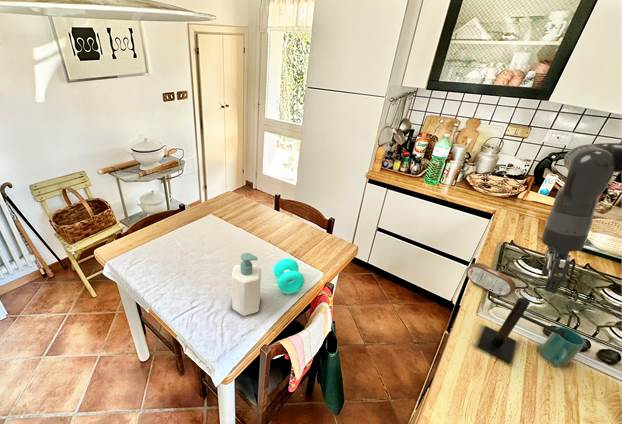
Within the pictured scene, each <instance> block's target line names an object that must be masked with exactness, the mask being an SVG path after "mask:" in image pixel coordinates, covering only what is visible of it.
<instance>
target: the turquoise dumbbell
mask: <svg viewBox="0 0 622 424" xmlns="http://www.w3.org/2000/svg"><path fill="white" fill-rule="evenodd" d="M287 270H288V271H287ZM299 270H300V266H299V263H298V262H297V261H296V260H295V259H293V258H289V257H288V258H287V257H286V258H281V259H280V260H278V261H277V262H276V263H275V264H274V266H273V269H272V273H273V276H274V277H275V278H276V279H277V287H278V289H279V291H280V292H282V293H284V294H288V295H289V294H294V293H295V294H296V293H297V292H299V291H300V290H301V289H302V288H303V287H304V286H305V280H306V279H305V277H304V276H305V275H303V274H302V273H301V272H300V271H299Z"/></svg>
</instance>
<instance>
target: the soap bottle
mask: <svg viewBox="0 0 622 424" xmlns="http://www.w3.org/2000/svg"><path fill="white" fill-rule="evenodd" d="M240 260H242V261H241V262H240V263H239V264H236V265H234V266H233V269H232V273H231V306H232V310H234V311H236V312H237V313H238V314H240V315H242V316H243V317H245V316H248V315H253V314H255V313H258V312H259V310H260V305H261V285H262V281H261V280H262V268H261V267H259V266H258V265H255V264H253V263H252V261H258V260H259V259H258V256H256V255H254V254H252V253H250V252H244V253H242V254H241V255H240Z"/></svg>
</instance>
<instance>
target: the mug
mask: <svg viewBox="0 0 622 424" xmlns="http://www.w3.org/2000/svg"><path fill="white" fill-rule="evenodd" d="M554 329H557V330H559V331H562V330H565V331H566V333H565V335H564V336H561V335H559V334H556V333H554V332H552V331H551V333H550V334H549V336H548V338H546V340H545V341H544V343H543V344H542V345H541V346H540V349H539V351H540V353H541V355H542V356H543V357H544V358H545V360H548V361H549V362H551V363H552V364H553V365H552V366H553V368H555V369H558V368H559V367H560V366H563V367H564V366H567V365H568V364H570V362H572V360H573V359H574V358H575V357H576V356H577V355H578V353H579V352H580V351H581V350H582V349H583V348H584V347H585V345H586V340H585V339H584V337H583V336H581V334H579V333H577V332H576V331H575V330H573V329H571V328H568V327H564V326H557V327H555V328H554Z"/></svg>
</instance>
